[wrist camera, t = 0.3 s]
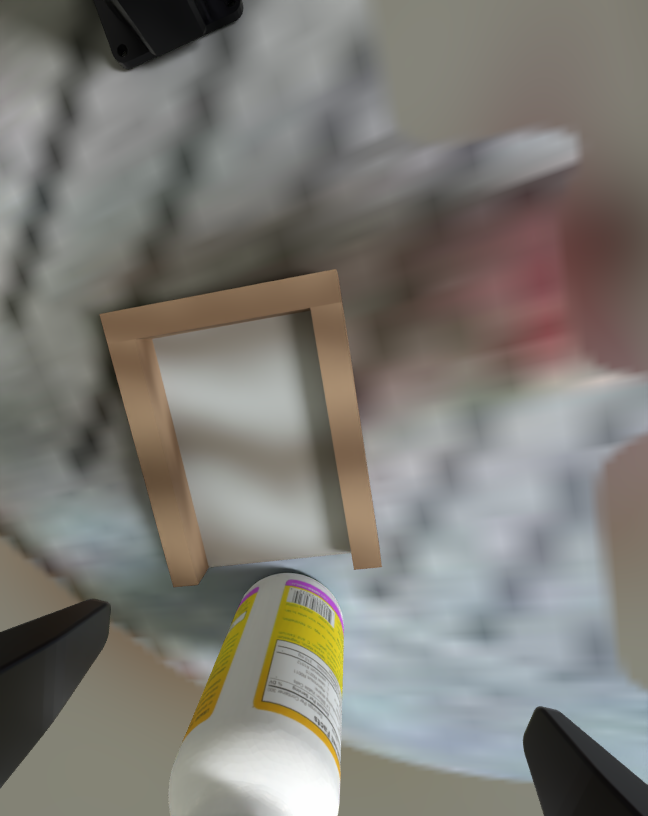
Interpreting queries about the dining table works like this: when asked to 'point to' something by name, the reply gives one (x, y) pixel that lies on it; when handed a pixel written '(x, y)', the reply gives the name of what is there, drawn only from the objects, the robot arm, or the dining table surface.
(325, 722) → the supplement bottle
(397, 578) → the dining table surface
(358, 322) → the dining table surface
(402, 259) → the dining table surface
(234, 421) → the open-ended tray
